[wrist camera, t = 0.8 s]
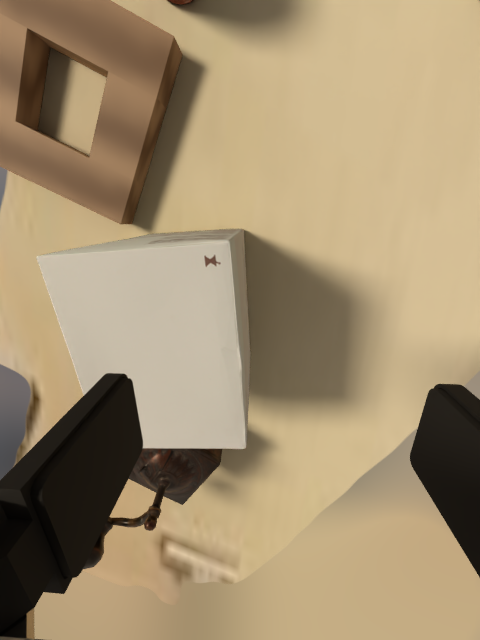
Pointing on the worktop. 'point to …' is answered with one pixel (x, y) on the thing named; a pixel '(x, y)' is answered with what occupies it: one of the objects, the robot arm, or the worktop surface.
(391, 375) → the worktop surface
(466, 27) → the worktop surface
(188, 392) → the supplement box
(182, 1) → the supplement bottle
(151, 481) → the coffee grinder
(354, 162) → the worktop surface
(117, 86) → the socket block
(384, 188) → the worktop surface
